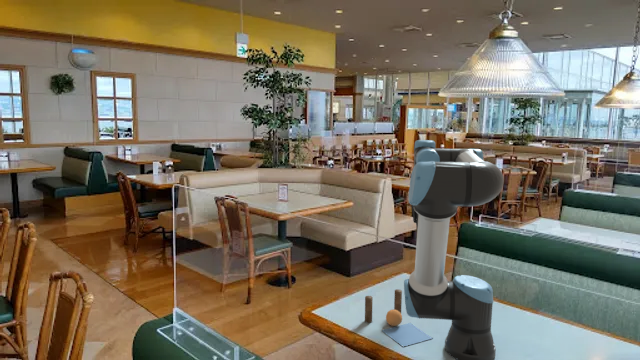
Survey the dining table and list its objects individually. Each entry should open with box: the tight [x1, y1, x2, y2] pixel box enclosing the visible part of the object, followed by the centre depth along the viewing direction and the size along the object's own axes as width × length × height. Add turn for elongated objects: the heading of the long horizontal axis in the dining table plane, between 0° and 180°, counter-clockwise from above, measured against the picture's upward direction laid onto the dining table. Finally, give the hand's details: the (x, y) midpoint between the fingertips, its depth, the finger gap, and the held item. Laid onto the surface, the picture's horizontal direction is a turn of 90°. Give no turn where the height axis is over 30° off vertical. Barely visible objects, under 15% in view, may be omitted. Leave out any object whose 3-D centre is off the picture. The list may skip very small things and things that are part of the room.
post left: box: [364, 295, 374, 324], centre depth 161 cm, size 3×3×9 cm
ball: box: [385, 309, 403, 327], centre depth 159 cm, size 6×6×6 cm
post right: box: [393, 289, 403, 314], centre depth 167 cm, size 3×3×9 cm
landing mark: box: [381, 322, 433, 348], centre depth 152 cm, size 12×12×1 cm
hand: (421, 242), depth 173 cm, fingers closed
